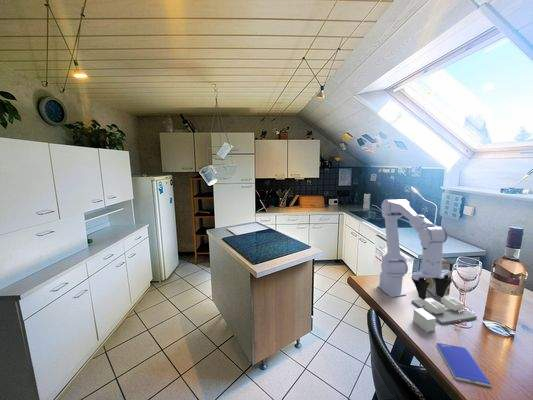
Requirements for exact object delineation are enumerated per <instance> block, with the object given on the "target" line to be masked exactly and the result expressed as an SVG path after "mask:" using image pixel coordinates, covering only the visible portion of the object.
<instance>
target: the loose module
mask: <svg viewBox="0 0 533 400" xmlns="http://www.w3.org/2000/svg"><path fill="white" fill-rule="evenodd" d="M412 315H413V319H412V322H414V323H415V324H416V325H417V326H419V327H420V328H421V329H422V330H424V331H425V332H426V333H429V332H434V331H436V326H437V325H436V324H437V321H436V318H435V317H434V316H432V315H431V314H429V313H428V312H427V311H425V310H424V309H423V308H415V309H413V314H412Z"/></svg>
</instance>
